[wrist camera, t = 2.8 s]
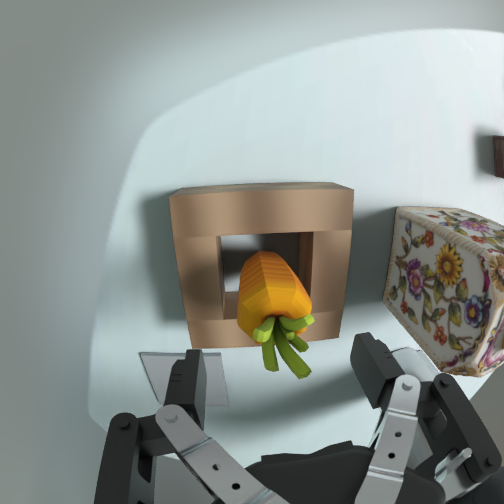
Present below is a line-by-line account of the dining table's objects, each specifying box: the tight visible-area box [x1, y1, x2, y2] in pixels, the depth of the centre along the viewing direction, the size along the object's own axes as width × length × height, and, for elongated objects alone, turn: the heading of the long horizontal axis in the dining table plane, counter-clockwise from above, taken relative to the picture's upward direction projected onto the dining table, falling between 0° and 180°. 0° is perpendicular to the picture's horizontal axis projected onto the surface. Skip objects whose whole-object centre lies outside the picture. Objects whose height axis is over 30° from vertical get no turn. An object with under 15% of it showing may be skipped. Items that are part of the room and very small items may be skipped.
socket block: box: [169, 182, 354, 349], centre depth 24 cm, size 14×14×5 cm
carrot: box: [237, 250, 315, 379], centre depth 19 cm, size 5×5×15 cm
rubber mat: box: [141, 352, 228, 406], centre depth 32 cm, size 10×10×1 cm
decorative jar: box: [383, 207, 504, 377], centre depth 19 cm, size 12×12×18 cm
